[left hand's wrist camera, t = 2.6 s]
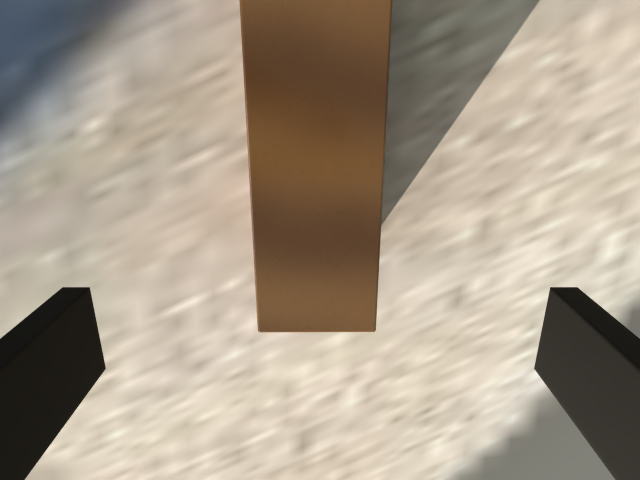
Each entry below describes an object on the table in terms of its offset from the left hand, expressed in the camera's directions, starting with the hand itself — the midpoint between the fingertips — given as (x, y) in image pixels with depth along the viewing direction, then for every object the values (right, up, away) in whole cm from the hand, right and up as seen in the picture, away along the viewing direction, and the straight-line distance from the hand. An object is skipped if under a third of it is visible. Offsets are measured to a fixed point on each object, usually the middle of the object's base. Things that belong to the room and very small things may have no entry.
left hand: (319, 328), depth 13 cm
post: (0, +32, +4) cm, 32 cm away
